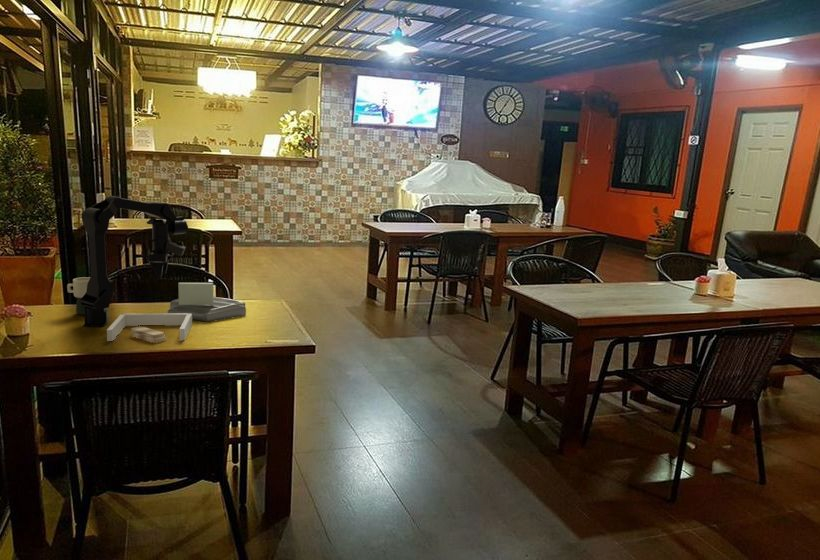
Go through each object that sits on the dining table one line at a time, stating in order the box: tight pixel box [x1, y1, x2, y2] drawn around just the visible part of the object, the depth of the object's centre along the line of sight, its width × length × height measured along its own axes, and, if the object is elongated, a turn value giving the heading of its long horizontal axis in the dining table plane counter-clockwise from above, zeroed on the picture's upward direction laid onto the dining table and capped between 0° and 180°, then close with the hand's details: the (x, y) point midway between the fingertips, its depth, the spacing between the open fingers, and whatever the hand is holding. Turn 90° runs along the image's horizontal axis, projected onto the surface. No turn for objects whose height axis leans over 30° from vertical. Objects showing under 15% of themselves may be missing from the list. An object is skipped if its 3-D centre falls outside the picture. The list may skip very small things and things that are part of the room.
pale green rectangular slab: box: [177, 282, 214, 305], centre depth 218 cm, size 12×2×8 cm, turn 103°
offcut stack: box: [130, 326, 167, 344], centre depth 190 cm, size 12×4×3 cm, turn 61°
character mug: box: [66, 276, 91, 315], centre depth 212 cm, size 11×7×13 cm, turn 107°
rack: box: [106, 312, 193, 342], centre depth 196 cm, size 23×20×4 cm
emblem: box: [167, 296, 247, 323], centre depth 224 cm, size 28×5×28 cm
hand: (161, 276), depth 222 cm, fingers open, 9 cm apart
